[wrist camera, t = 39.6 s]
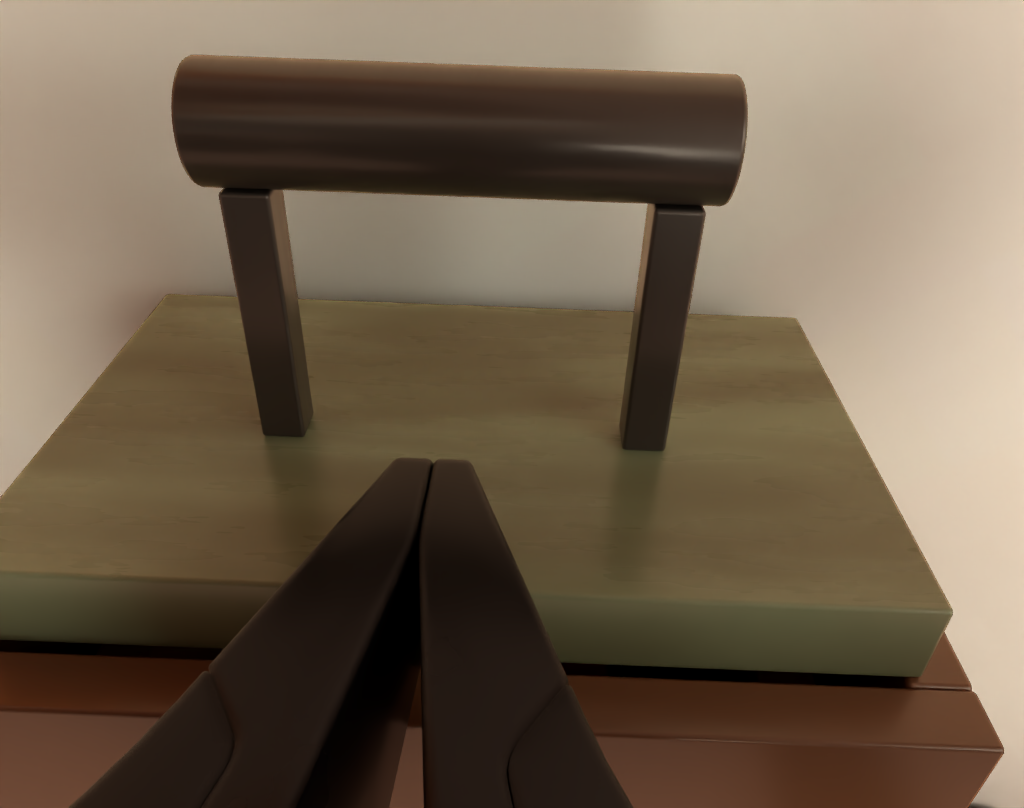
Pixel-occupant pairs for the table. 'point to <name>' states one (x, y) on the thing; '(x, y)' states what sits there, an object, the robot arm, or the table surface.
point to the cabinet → (609, 711)
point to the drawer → (473, 398)
